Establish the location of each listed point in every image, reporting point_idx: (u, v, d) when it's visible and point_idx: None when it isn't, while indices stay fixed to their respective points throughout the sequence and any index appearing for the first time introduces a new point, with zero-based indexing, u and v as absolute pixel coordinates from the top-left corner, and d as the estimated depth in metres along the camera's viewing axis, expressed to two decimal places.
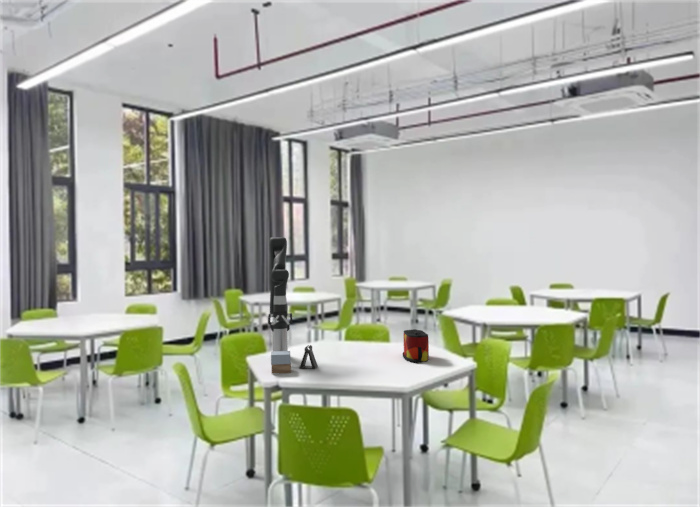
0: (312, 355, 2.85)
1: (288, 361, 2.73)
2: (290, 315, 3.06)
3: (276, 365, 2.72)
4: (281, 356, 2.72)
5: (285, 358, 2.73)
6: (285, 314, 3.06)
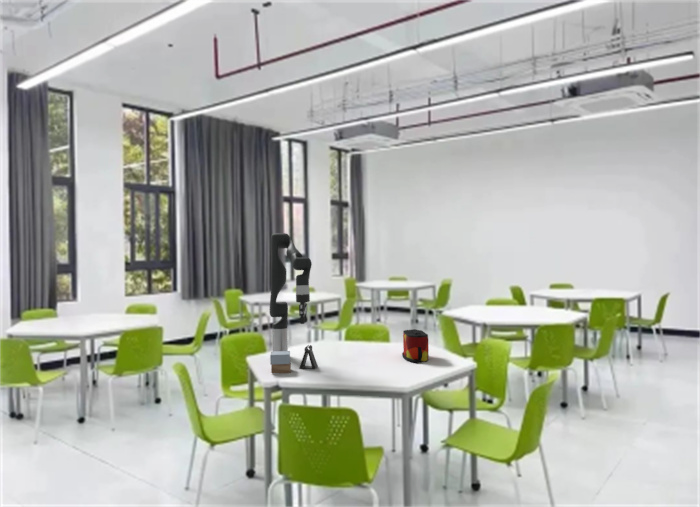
0: (312, 355, 2.85)
1: (287, 361, 2.73)
2: (306, 305, 2.95)
3: (276, 365, 2.72)
4: (280, 356, 2.72)
5: (285, 358, 2.73)
6: (305, 304, 2.92)
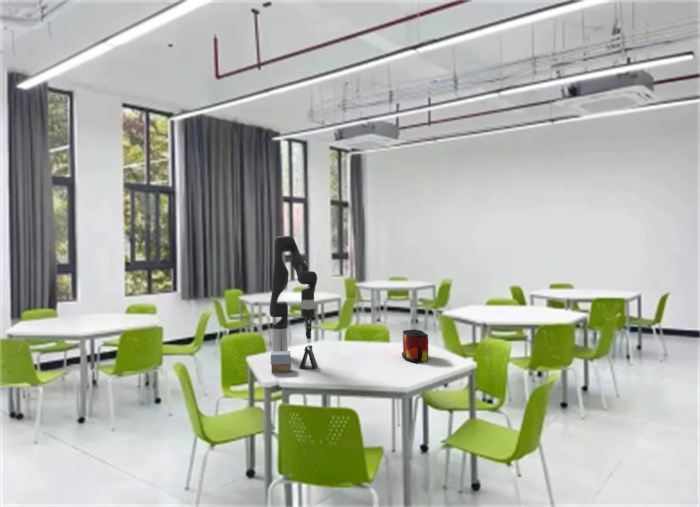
0: (312, 355, 2.85)
1: (288, 361, 2.73)
2: None
3: (276, 365, 2.72)
4: (281, 356, 2.72)
5: (285, 359, 2.73)
6: None
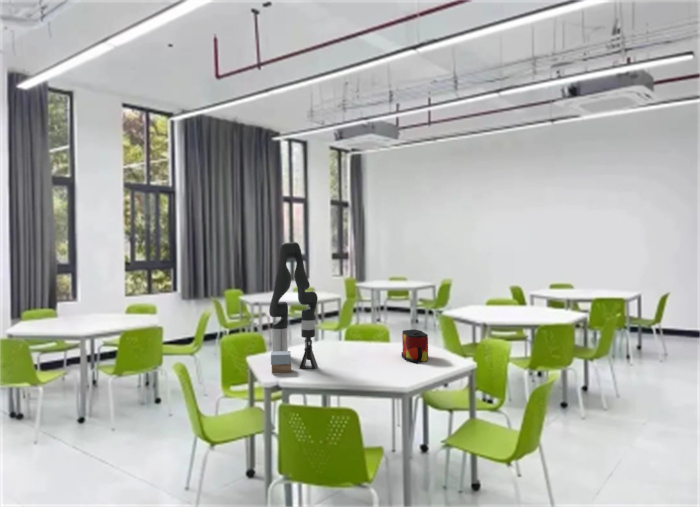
0: (312, 355, 2.85)
1: (288, 361, 2.72)
2: None
3: (276, 365, 2.72)
4: (281, 356, 2.72)
5: (285, 359, 2.72)
6: None
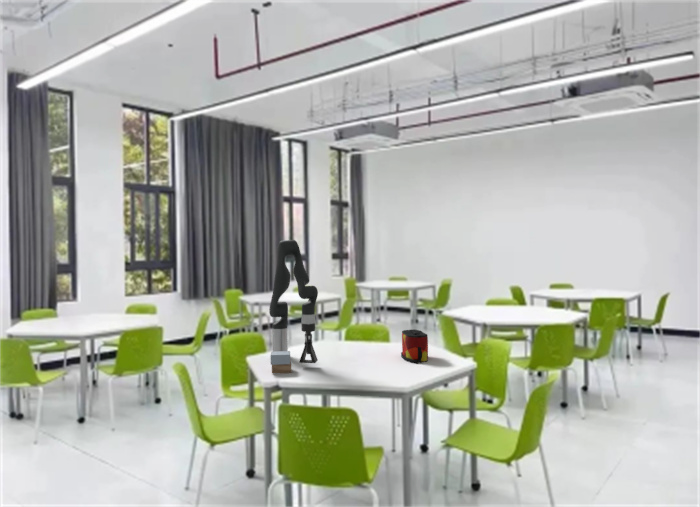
0: (312, 349, 2.85)
1: (288, 361, 2.72)
2: None
3: (276, 365, 2.72)
4: (281, 356, 2.72)
5: (285, 359, 2.72)
6: None
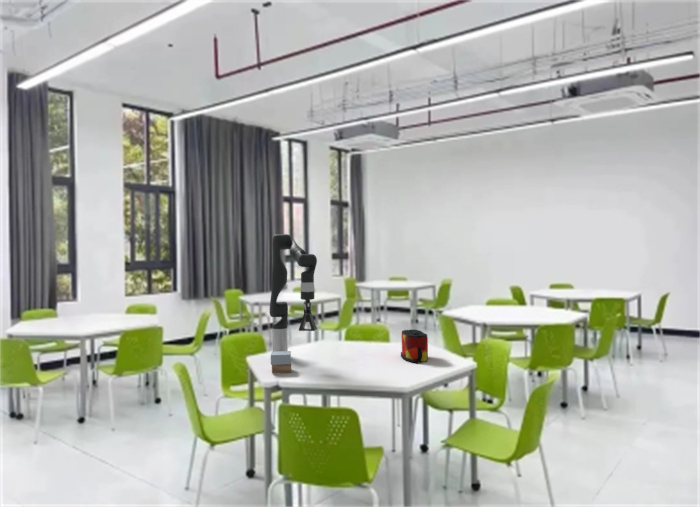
0: (311, 317, 2.85)
1: (288, 361, 2.72)
2: None
3: (276, 365, 2.72)
4: (281, 356, 2.72)
5: (285, 359, 2.72)
6: None
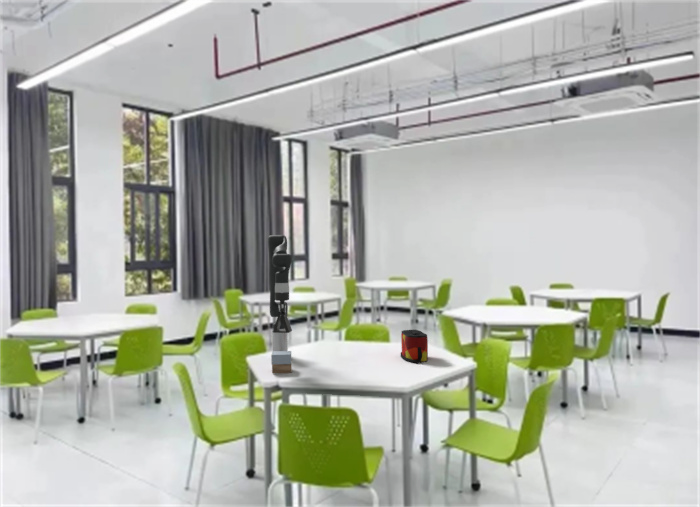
0: (286, 319, 2.77)
1: (288, 361, 2.73)
2: None
3: (277, 365, 2.72)
4: (281, 356, 2.72)
5: (286, 358, 2.73)
6: None
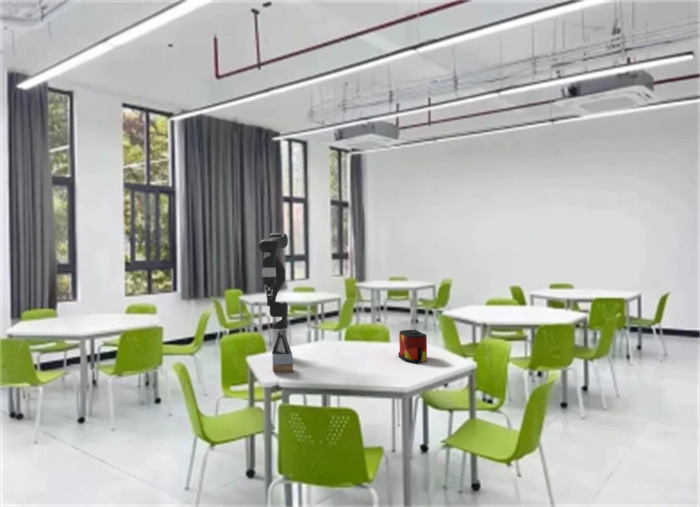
0: (285, 340, 2.77)
1: (290, 361, 2.73)
2: (271, 287, 2.95)
3: (278, 365, 2.72)
4: (283, 356, 2.72)
5: (288, 358, 2.73)
6: None
